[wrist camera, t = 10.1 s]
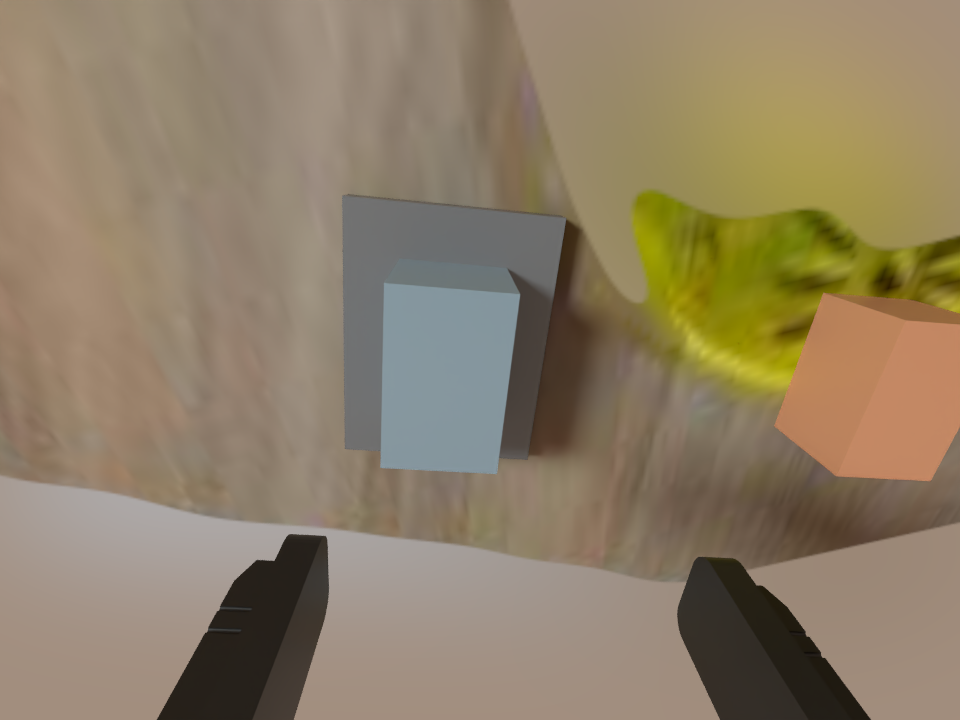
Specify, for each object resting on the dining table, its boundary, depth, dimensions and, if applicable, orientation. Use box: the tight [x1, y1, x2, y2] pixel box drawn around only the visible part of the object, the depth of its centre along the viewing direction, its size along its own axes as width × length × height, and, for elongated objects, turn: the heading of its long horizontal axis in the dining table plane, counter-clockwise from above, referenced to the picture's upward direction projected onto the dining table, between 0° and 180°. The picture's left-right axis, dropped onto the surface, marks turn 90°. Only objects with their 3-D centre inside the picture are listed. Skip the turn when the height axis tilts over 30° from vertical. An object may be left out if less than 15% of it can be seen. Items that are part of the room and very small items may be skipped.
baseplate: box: [342, 194, 566, 460], centre depth 24 cm, size 10×13×1 cm
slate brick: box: [381, 259, 520, 474], centre depth 21 cm, size 5×8×5 cm, turn 175°
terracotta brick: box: [775, 293, 960, 481], centre depth 24 cm, size 5×8×5 cm, turn 175°
